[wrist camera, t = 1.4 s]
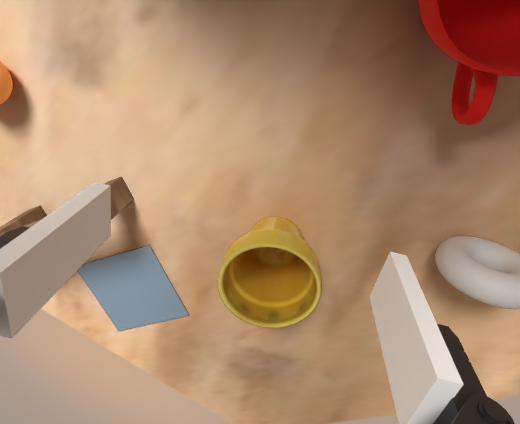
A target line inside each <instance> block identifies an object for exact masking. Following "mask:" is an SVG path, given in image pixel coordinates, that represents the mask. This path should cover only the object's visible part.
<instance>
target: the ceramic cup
mask: <svg viewBox="0 0 520 424" xmlns="http://www.w3.org/2000/svg"><path fill="white" fill-rule="evenodd" d="M419 8H420V13H421V19H422V21H423V24H424V26H425V28H426V31H427V33H428V34H429V36H430V37H431V39H432V40H433V41H434V43H435V44H436V45H437V46H438V47H439V48H440V49H441V50H442V51H443V52H445V53H446V54H447V55H448V56H449V57H451V58H453V59H455V60H457V61H459V62H458V66H457V71H456V75H455V80H454V86H453V92H452V113H453V116H454V118H455V120H456V121H457V122H459V123H461V124H465V125H472V124H476V123H478V122H480V121H481V120H482V119H483V118H484V116H485V115H486V113H487V112H488V110H489V108H490V105H491V103H492V100H493V97H494V93H495V89H496V84H497V78H498V75H509V76H520V0H419ZM473 73H474V77H475V90H474V95H473V99H472V102H471V105H470V107H469V93H470V87H471V81H472V76H473Z"/></svg>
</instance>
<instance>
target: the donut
mask: <svg viewBox="0 0 520 424" xmlns="http://www.w3.org/2000/svg"><path fill="white" fill-rule="evenodd" d="M435 262H436V265H437V268H438V270H439V272H440V273H441V274H442V276H443V277H444V278H445V279H446V280H447V281H448V282H449V283H450V284H451V285H453V286H454V287H455V288H456V289H458V290H459V291H461V292H463V293H464V294H466V295H468V296H469V297H471V298H474V299H476V300H478V301H481V302H483V303H485V304H489V305H492V306H496V307H499V308H508V309H520V254H518V253H517V252H515V251H513V250H511V249H509V248H507V247H505V246H503V245H501V244H498V243H496V242H493V241H490V240H487V239H482V238H478V237H471V236H454V237H450V238H448V239H446V240H444V241H443V242H441V243H440V244H439V246H438V247H437V250H436V252H435Z"/></svg>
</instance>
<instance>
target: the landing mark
mask: <svg viewBox="0 0 520 424" xmlns="http://www.w3.org/2000/svg"><path fill="white" fill-rule="evenodd" d="M77 271H78V272H79V274H80V275H81V277H82V278H83V280H84V281H85V283H86V284H87V286H88V287H89V289H90V290H91V291H92V293H93V294H94V296H95V297H96V299H97V300H98V302H99V303H100V305H101V306H102V308H103V309H104V311H105V312H106V314H107V315H108V317H109V318H110V319H111V321H112V322H113V324H114V325H115V327H116V328H117V330H118V331H122V330H126V329H131V328H135V327H139V326H144V325H148V324H153V323H157V322H162V321H166V320H171V319H175V318H179V317H184V316H188V315H189V314H188V312H187V310H186V308H185V307H184V305H183V303H182V301H181V300H180V298H179V296H178V294H177V292H176V291H175V289H174V287H173V285H172V284H171V282H170V280H169V278H168V277H167V275H166V273H165V271H164V269H163V268H162V266H161V264H160V262H159V261H158V259H157V257H156V255H155V253H154V252H153V250H152V248H151V246H150V245H148V246H145V247H142V248H138V249H135V250H131V251H128V252H124V253H121V254H117V255H114V256H111V257H107V258H104V259H100V260H97V261H93V262H90V263H86V264H83V265H82V266H81V267H80V268H79V269H78V270H77Z"/></svg>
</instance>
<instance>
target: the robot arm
mask: <svg viewBox="0 0 520 424" xmlns="http://www.w3.org/2000/svg"><path fill="white" fill-rule="evenodd" d="M110 236H111V186H110V185H106V184H102V183H98V182H94V183H92V184H91V185H89V186H88V187H87V188H85V189H84V190H82V191H81V192H79V193H78V194H77V195H75V196H74V197H72V198H71V199H70V200H68V201H67V202H65V203H64V204H63V205H61V206H60V207H58V208H57V209H56V210H54V211H53V212H51V213H50V214H49V215H47V216H46V217H44V218H43V219H42V220H40V221H39V222H37V223H36V224H35V225H33V226H32V227H30V228H28V227H24V226H21V227H19V228H16V229H13V230H10V231H7V232H6V233H4V234H3V235H1V236H0V335H1V336H4V337H8V338H13V337H14V336H15V335H16V334H17V333H18V332H19V331H20V330H21V329H22V328H23V326H24V325H25V324H26V323H27V322H28V321H29V320H30V319H31V318H32V317H33V316H34V315H35V314H36V313H37V312H38V311H39V310H40V309H41V308H42V307H43V306H44V305H45V304H46V302H47V301H48V300H49V299H50V298H51V297H52V296H53V295H54V294H55V293H56V292H57V291H58V290H59V289H60V288H61V287H62V286H63V285H64V284H65V283H66V282H67V281H68V280H69V278H70V277H71V276H72V275H73V274H74V273H75V272H76V271H77V270H78V269H79V268H80V267H81V266H82V265H83V264H84V263H85V262H86V261H87V260H88V259H89V258H90V257H91V255H92V254H93V253H94V252H95V251H96V250H97V249H98V248H99V247H100V246H101V245H102V244H103V243H104V242H105V241H106V240H107V239H108V238H109V237H110ZM369 298H370V302H371V306H372V310H373V315H374V319H375V323H376V328H377V332H378V336H379V340H380V345H381V349H382V353H383V358H384V362H385V366H386V370H387V375H388V379H389V383H390V387H391V392H392V396H393V400H394V405H395V409H396V413H397V417H398V421H399V424H514V422H513V419H512V418H511V416H510V415H509V414H508V412H507V411H506V410H505V409H504V408H503V407H502V406H501V405H500V404H498V403H497V402H496V401H494V400H492V399H491V398H489V397H487V395H486V393H485V391H484V389H483V387H482V385H481V383H480V381H479V379H478V377H477V375H476V373H475V371H474V369H473V367H472V365H471V363H470V362H469V359H468V357H467V355H466V353H465V352H464V349H463V347H462V345H461V343H460V341H459V339H458V337H457V336H456V335H455V334H454V333H453V332H452V331H451V329H450V328H449V327H448V326H444V325H439V324H437V323H436V321H435V319H434V316H433V314H432V312H431V310H430V307H429V305H428V303H427V301H426V298H425V296H424V294H423V292H422V289H421V287H420V285H419V283H418V280H417V278H416V276H415V273H414V271H413V269H412V267H411V264H410V262H409V260H408V258H407V255H402V254H398V253H394V252H390V253H389V255H388V257H387V259H386V262H385V264H384V266H383V268H382V270H381V273H380V275H379V277H378V279H377V281H376V284H375V286H374V288H373V290H372V292H371V294H370V297H369Z"/></svg>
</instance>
